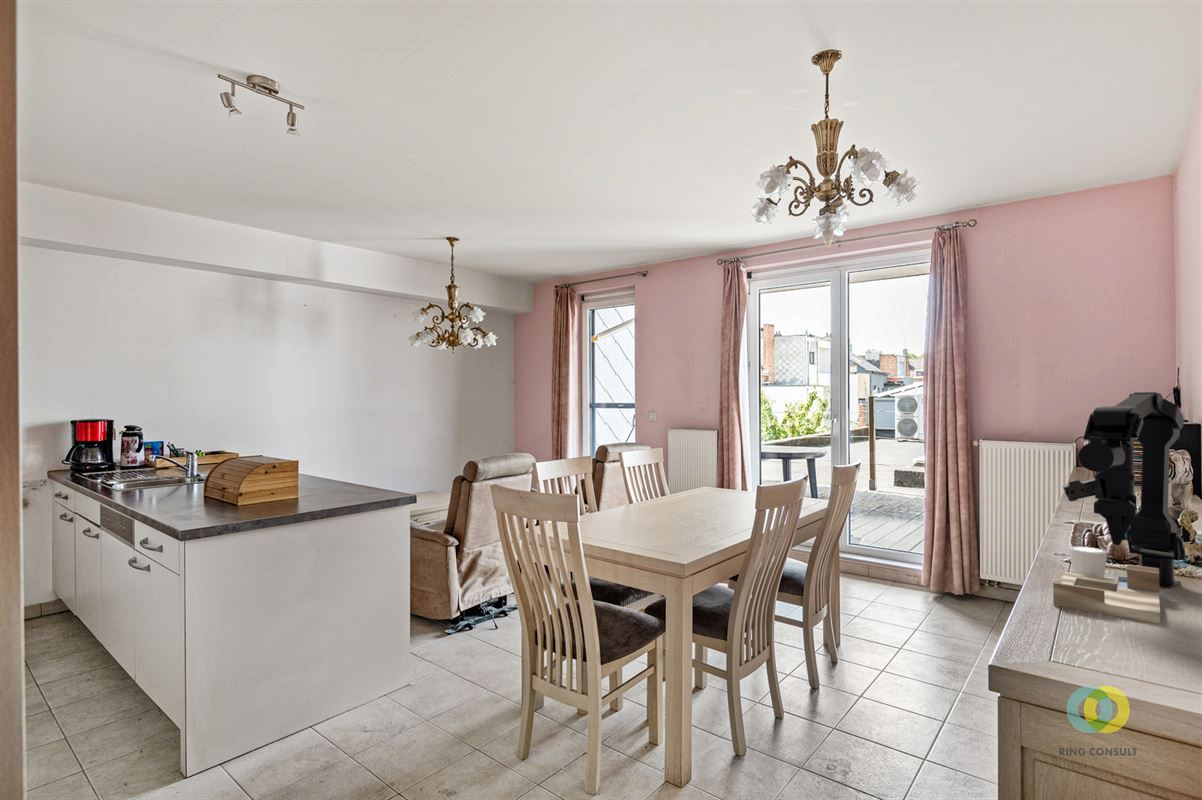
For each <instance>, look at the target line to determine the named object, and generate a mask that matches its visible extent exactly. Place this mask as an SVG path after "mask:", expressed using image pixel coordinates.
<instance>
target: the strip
mask: <svg viewBox="0 0 1202 800" xmlns="http://www.w3.org/2000/svg"><path fill="white" fill-rule="evenodd" d="M1117 580H1118V587H1117V588H1122V589H1129V590H1136V591H1142V592H1149V593H1156V594H1159V595H1160V592H1159V593H1157V592H1150V591H1144V590H1137V589H1130V588H1127V576H1124V575H1118V578H1117Z"/></svg>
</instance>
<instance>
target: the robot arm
mask: <svg viewBox="0 0 1202 800" xmlns="http://www.w3.org/2000/svg"><path fill="white" fill-rule="evenodd" d="M1184 420H1185V419H1184V415H1183V413H1182V412H1181V409H1180V407H1179V405H1177V404H1176V403H1173V402H1172V401H1169V400H1167V399H1165V398H1164V397H1163V395H1162V393H1160V392H1157V391H1143V392H1142V391H1141V392H1139V391H1137V392H1135V391H1134V393H1130V394H1129V396H1128V397H1127V398H1126V399H1124V400H1122V401H1120V402H1119V403H1118V404H1116V405H1111V406H1109V405H1108V406H1107V405H1106V406H1100V407H1099V406H1098V407H1096V408H1094V409H1093V411H1092V412H1091V413H1090V415H1089V417H1088V421H1087V425H1086V427H1085V431H1084V435H1083V441H1090V442H1089V443H1087V444H1084V445H1083V446H1081V449H1080V450H1079V452H1078V455H1077V457H1078V460H1079V463H1080V464H1081V466H1082V467H1083V468H1085V469H1087V470H1088V471H1091V472H1094V473H1095V472H1096V473H1095V474H1094V478H1091V479H1088V480H1082V481H1080V480H1079V479H1076V480H1070V481H1068V484H1066V485H1064V486H1063V487H1062V488H1063V491H1064V494H1065V495H1066V497H1067V499H1068V501H1069V502H1076V501H1078V500H1080V499H1085V498H1089V497H1094V499H1096V500H1095V501H1094V502H1093V514H1097V515H1100V516H1101V517H1103V518H1104V520H1105V521H1106V525H1107V527H1108V532H1109V535H1110V538H1111V542H1112V545H1114V546H1120V545H1121V544H1122V542H1123V540H1124V538H1125V535H1126V537H1127V545H1128V551H1129V552H1128V553H1129V554H1134V555H1139V566H1145V567H1152V568H1159V587H1161V588H1166V589H1171V588H1174V587H1177V586H1179V585H1182V581H1179V580H1175V561H1176V562H1179V561H1186V560H1187V555H1186V554H1187V553H1186V547H1185V544H1184V540H1183V539H1182V537H1181V534H1180V533H1179V532H1178V525H1177V523H1176V521H1175V520H1174V519H1173V517H1172V516H1171V515H1170V513H1169V478H1170V448H1171V447H1172V446H1173V445H1174V443H1175V442H1176V441H1177V440H1178V439H1179V438H1180V434H1181V430H1182V429H1183V427H1184ZM1136 439H1137V441H1138V442H1139V444H1140V445H1141V446H1142V456H1141V487H1140V489H1141V490H1140V509H1139V511H1138V512H1136V508H1137V495H1135V468H1134V466H1135V462H1134V461H1135V458H1134V457H1135V455H1134V454H1135V453H1134V452H1135V451H1134V449H1135V448H1134V445H1135V443H1134V442H1135V440H1136Z"/></svg>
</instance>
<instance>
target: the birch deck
mask: <svg viewBox="0 0 1202 800" xmlns="http://www.w3.org/2000/svg"><path fill="white" fill-rule="evenodd" d="M1117 587H1118V579H1115V578H1108V577H1104V578H1102V577H1095V576H1088V575H1081V574H1074V573H1072V572H1066V571H1065V572H1063V574H1062V576H1061V578H1060V579H1054V581H1053V587H1052V588H1053V593H1052V594H1053V606H1055V607H1056V606H1057V607H1062V608H1067V609H1073V610H1079V611H1084V612H1085V611H1086V612H1090V613H1091V612H1092V613H1096V614H1101V615H1107V616H1108V615H1109V616H1113V617H1119V618H1126V619H1129V620H1130V619H1132V620H1136V621H1143V622H1148V623H1153V624H1158V625H1160V624H1161V608H1160V607H1161V606H1160V605H1161V604H1160V593H1159V594H1156V593H1149V592H1142V591H1136V590H1129V589H1122V588H1117Z"/></svg>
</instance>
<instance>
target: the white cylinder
mask: <svg viewBox="0 0 1202 800" xmlns="http://www.w3.org/2000/svg"><path fill="white" fill-rule="evenodd" d="M1069 555H1070V563H1071V573H1074V574H1081V575H1088V576H1095V577H1102V578H1105V575H1106V565H1107V556H1108V551H1106V550H1105V549H1101V548H1097V547H1092V546H1084V545H1083V546H1081V545H1080V546H1079V545H1078V546H1077V545H1076V546H1074V545H1073V546H1069Z"/></svg>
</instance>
